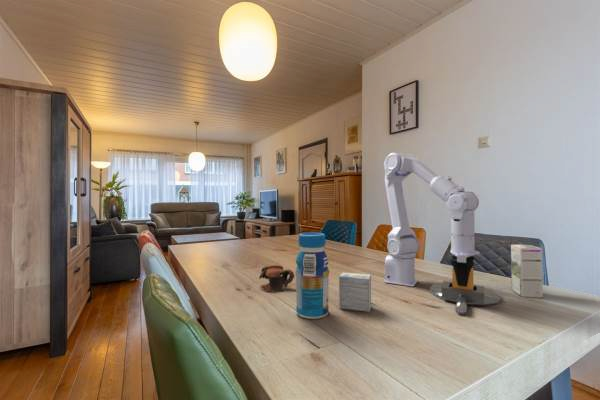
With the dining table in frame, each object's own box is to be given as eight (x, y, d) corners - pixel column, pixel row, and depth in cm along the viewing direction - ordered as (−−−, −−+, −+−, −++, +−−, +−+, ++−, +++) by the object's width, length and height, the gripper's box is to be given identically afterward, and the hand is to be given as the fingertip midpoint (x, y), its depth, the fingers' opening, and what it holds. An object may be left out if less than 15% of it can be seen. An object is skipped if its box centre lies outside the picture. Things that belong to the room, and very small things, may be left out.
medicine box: (371, 306, 77) (371, 274, 77) (369, 312, 73) (369, 278, 72) (342, 303, 79) (342, 271, 79) (339, 309, 75) (338, 276, 75)
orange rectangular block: (452, 296, 80) (452, 268, 81) (453, 294, 83) (453, 266, 83) (473, 300, 78) (473, 270, 78) (473, 297, 80) (473, 268, 81)
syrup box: (543, 298, 82) (543, 247, 82) (520, 296, 83) (520, 247, 83) (532, 291, 88) (532, 244, 88) (510, 290, 89) (510, 244, 89)
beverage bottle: (289, 312, 73) (288, 233, 73) (314, 304, 78) (314, 231, 78) (310, 323, 66) (309, 237, 66) (336, 314, 72) (335, 234, 72)
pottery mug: (255, 293, 89) (254, 267, 93) (267, 298, 97) (266, 274, 101) (291, 286, 87) (288, 259, 91) (301, 291, 95) (298, 266, 99)
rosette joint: (421, 308, 75) (421, 285, 75) (434, 282, 98) (434, 265, 98) (505, 323, 66) (505, 297, 66) (498, 291, 89) (498, 271, 88)
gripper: (479, 239, 72) (479, 293, 72) (479, 233, 84) (479, 279, 84) (448, 237, 76) (448, 288, 76) (452, 231, 88) (452, 275, 88)
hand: (462, 283), depth 80 cm, fingers open, 5 cm apart
